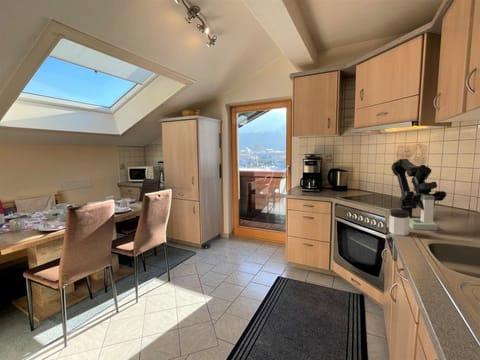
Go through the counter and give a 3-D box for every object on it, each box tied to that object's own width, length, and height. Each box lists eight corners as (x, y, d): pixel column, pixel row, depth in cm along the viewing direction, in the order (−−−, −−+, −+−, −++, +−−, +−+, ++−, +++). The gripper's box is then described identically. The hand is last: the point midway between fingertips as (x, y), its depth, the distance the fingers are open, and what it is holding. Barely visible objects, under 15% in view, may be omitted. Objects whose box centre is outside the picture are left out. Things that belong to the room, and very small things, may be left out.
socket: (404, 222, 143) (405, 218, 143) (427, 223, 140) (427, 218, 140) (412, 229, 133) (413, 224, 132) (437, 230, 130) (437, 224, 129)
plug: (420, 220, 131) (421, 195, 129) (429, 220, 130) (430, 195, 128) (423, 222, 127) (424, 196, 125) (433, 223, 126) (434, 196, 124)
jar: (401, 236, 123) (402, 214, 122) (386, 232, 131) (386, 210, 129) (412, 233, 127) (412, 211, 126) (396, 229, 134) (396, 208, 133)
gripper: (405, 176, 131) (412, 201, 122) (445, 176, 126) (457, 201, 117) (399, 188, 140) (406, 212, 131) (437, 188, 135) (447, 212, 126)
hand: (428, 209), depth 126 cm, fingers closed on plug, 4 cm apart
